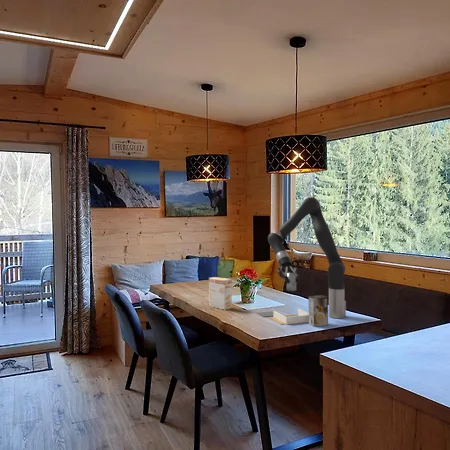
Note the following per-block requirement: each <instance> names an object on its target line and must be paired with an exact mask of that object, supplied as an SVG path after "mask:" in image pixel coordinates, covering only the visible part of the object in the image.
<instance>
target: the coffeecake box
mask: <svg viewBox="0 0 450 450" xmlns="http://www.w3.org/2000/svg"><path fill="white" fill-rule="evenodd" d="M232 285H233V284H232V278H225V277H219V276H213V277H208V294H209V295H208V296H209V297H208V302H209V303H208V306H210V308H214V307H215V308H214V309H218V308H219V310H223V309H224V310H223V311H225V310H231V309H232V306H233V305H232V302H233V301H232V290H233V289H232ZM230 308H231V309H230Z"/></svg>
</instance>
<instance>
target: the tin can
mask: <svg viewBox="0 0 450 450" xmlns="http://www.w3.org/2000/svg"><path fill="white" fill-rule="evenodd" d="M287 277H288V279H289V283H288V284H287V283H286V291H288V292H290V291H291V292H295V291H297V283H296V272H295V273H293V272H289V273H287Z"/></svg>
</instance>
